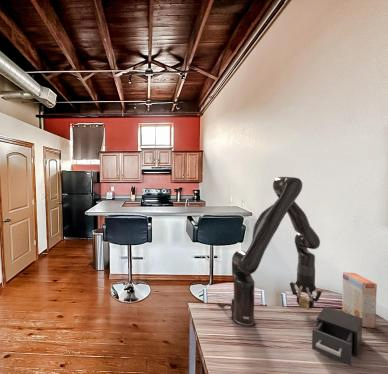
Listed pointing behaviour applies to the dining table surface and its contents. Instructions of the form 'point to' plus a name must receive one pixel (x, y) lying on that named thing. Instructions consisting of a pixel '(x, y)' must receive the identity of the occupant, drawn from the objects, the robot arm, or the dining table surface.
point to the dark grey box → (343, 324)
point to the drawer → (333, 342)
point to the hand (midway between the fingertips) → (304, 305)
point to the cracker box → (359, 298)
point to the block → (304, 302)
